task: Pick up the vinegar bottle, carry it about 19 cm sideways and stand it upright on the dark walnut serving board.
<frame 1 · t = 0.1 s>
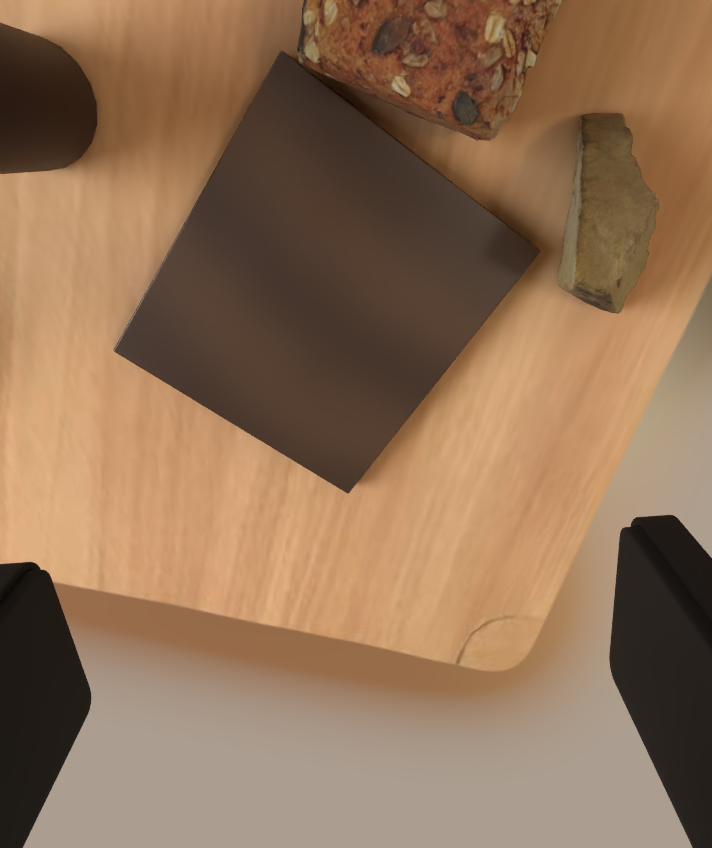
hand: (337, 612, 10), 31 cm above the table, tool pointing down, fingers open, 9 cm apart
serving board: (320, 297, 40), on the table
vinegar: (41, 105, 36), on the table
rock: (595, 212, 38), on the table
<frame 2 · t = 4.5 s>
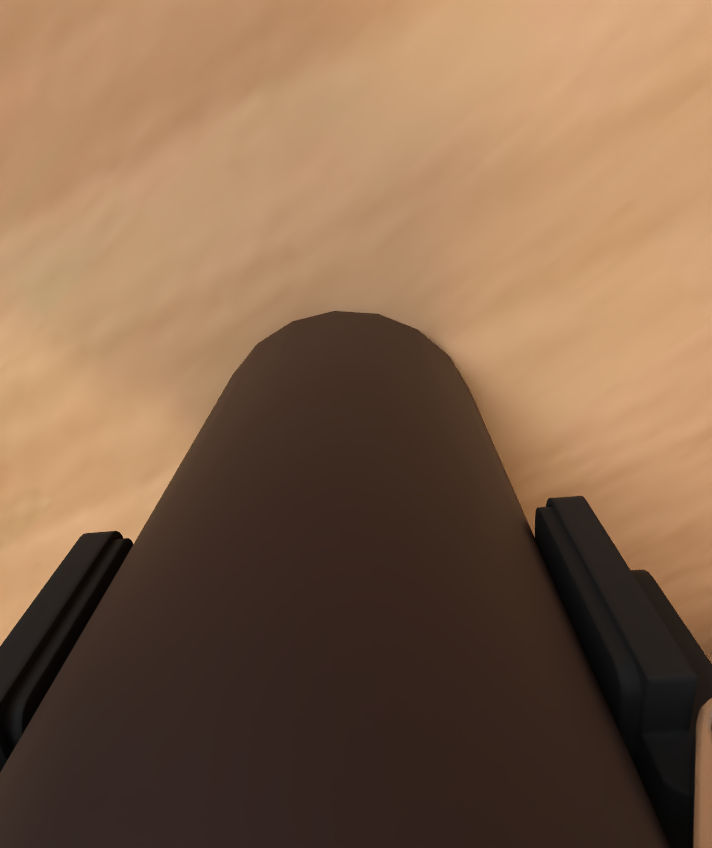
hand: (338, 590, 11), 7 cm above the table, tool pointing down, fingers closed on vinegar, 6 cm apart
vinegar: (348, 427, 17), on the table, touching gripper
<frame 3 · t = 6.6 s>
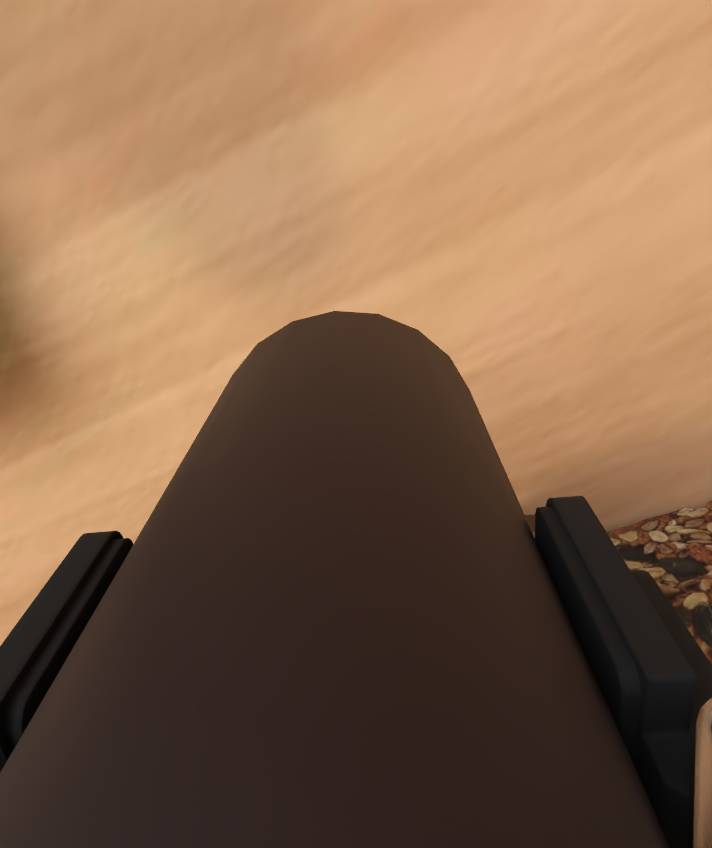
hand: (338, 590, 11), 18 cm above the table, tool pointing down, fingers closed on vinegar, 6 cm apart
vinegar: (348, 426, 17), point 11 cm above the table, touching gripper
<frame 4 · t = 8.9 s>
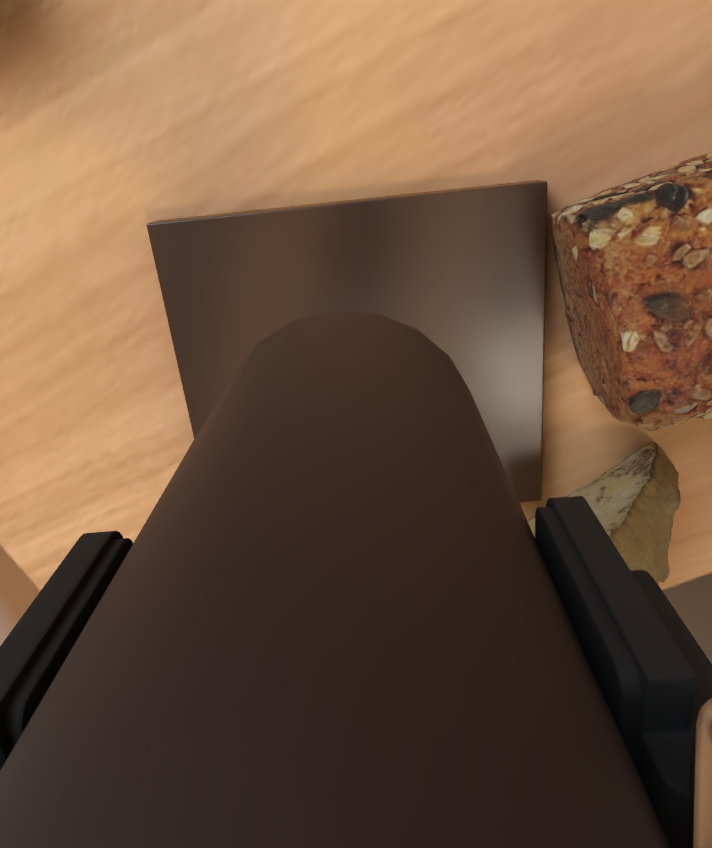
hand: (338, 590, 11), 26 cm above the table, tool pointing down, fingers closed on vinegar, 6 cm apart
serving board: (361, 366, 36), on the table
vinegar: (348, 426, 17), point 19 cm above the table, touching gripper
rock: (591, 505, 40), on the table
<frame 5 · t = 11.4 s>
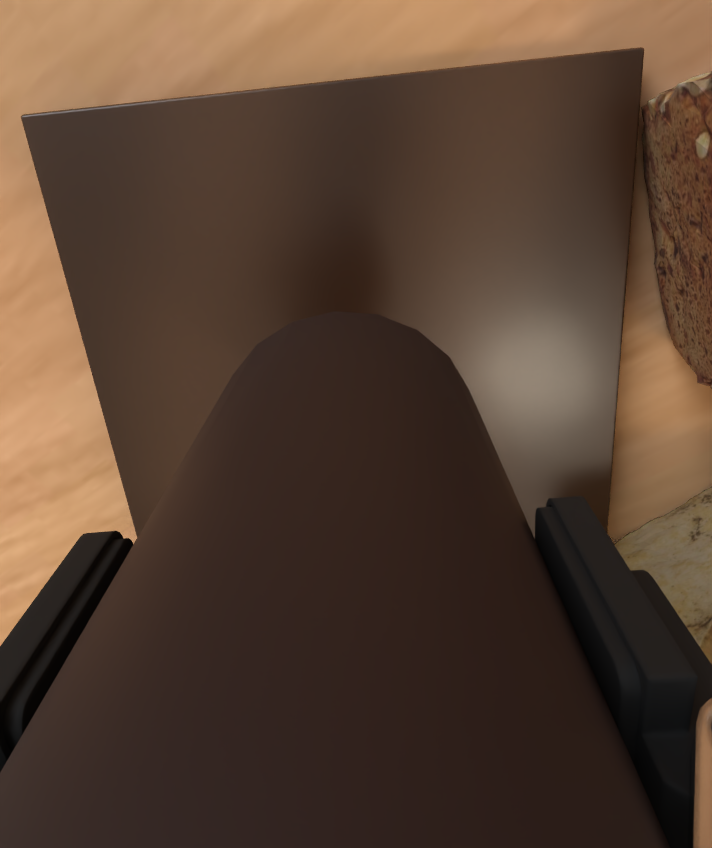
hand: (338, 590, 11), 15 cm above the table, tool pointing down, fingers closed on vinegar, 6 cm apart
serving board: (352, 341, 25), on the table
vinegar: (348, 427, 17), point 8 cm above the table, touching gripper
rock: (672, 540, 29), on the table
when the fingers open (8 cm above the table, at t = 13.6 s): vinegar stays where it is, resting on serving board.
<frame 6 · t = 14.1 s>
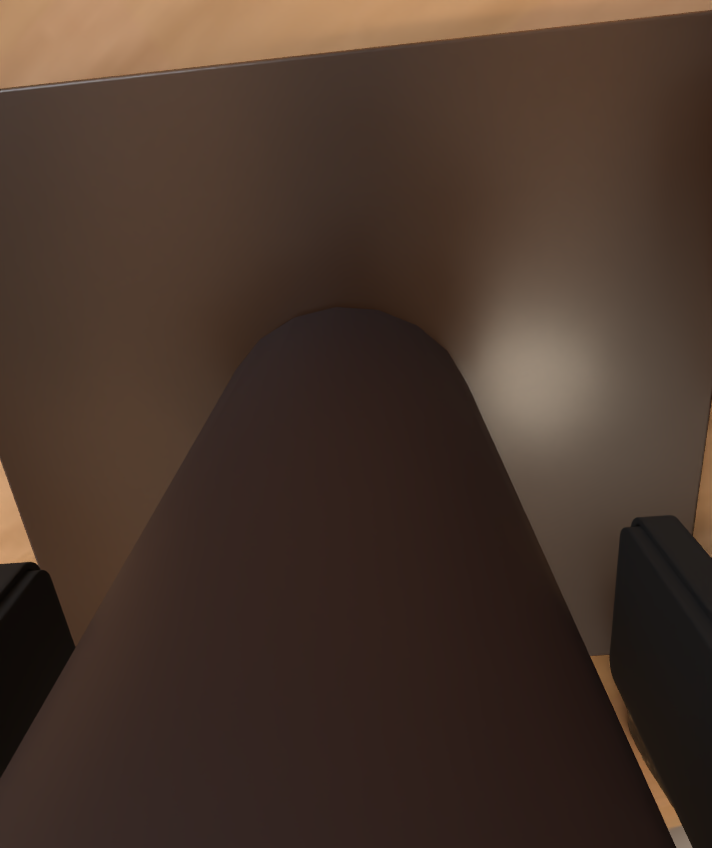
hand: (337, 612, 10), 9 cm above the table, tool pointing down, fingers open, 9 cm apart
serving board: (347, 405, 19), on the table
vinegar: (349, 421, 18), point 1 cm above the table, touching serving board
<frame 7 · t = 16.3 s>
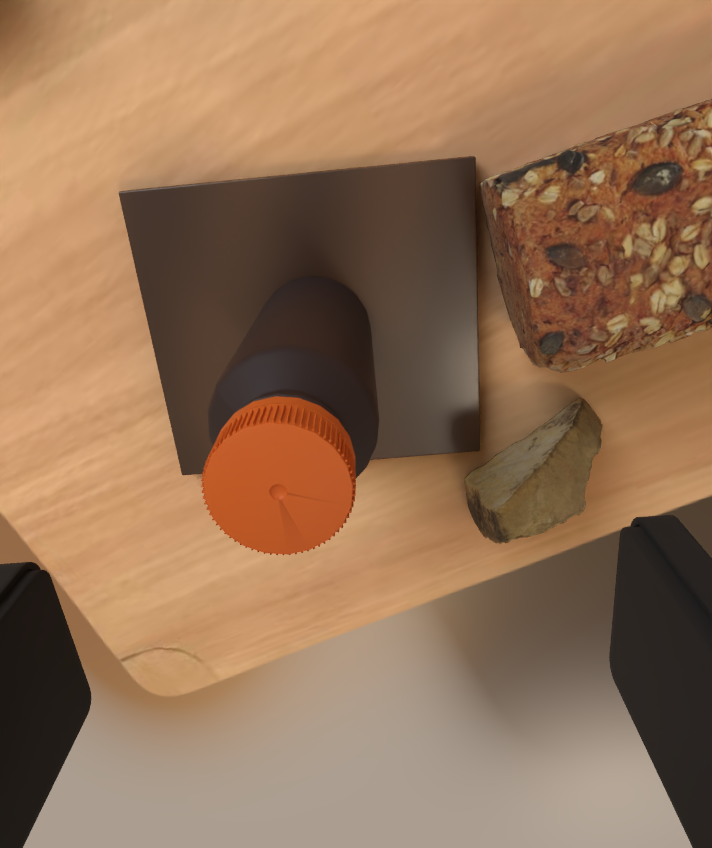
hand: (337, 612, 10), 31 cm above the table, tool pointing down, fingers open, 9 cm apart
serving board: (315, 326, 40), on the table
vinegar: (315, 330, 38), point 1 cm above the table, touching serving board
rock: (528, 458, 44), on the table
bread: (641, 209, 37), on the table
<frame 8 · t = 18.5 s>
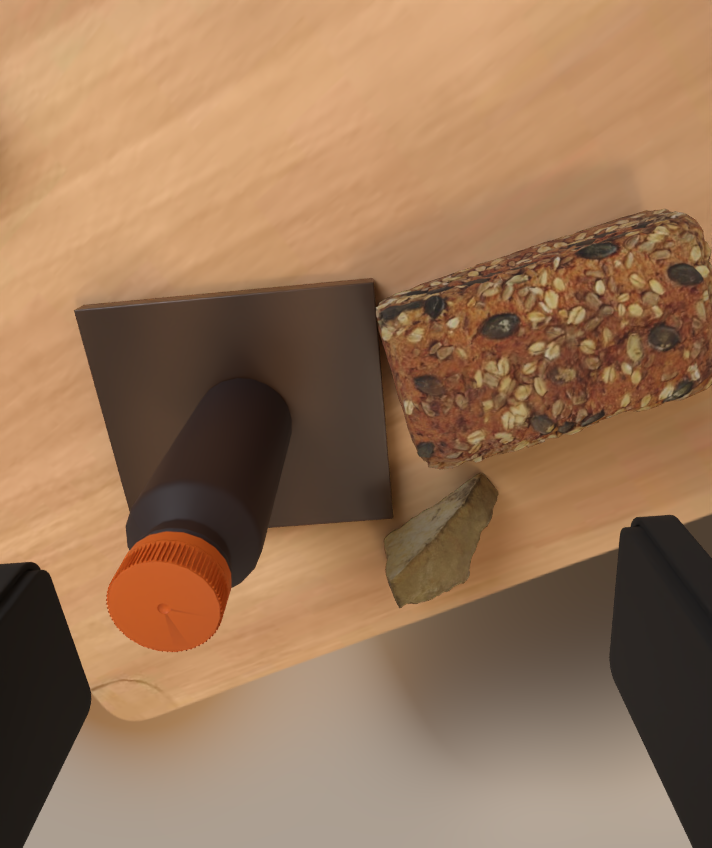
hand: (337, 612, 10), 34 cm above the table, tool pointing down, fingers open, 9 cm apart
serving board: (247, 413, 46), on the table
vinegar: (245, 419, 45), point 1 cm above the table, touching serving board
rock: (439, 522, 50), on the table
bread: (522, 318, 43), on the table
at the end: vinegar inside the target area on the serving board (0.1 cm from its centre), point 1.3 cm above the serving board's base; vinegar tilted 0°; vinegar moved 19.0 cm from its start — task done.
